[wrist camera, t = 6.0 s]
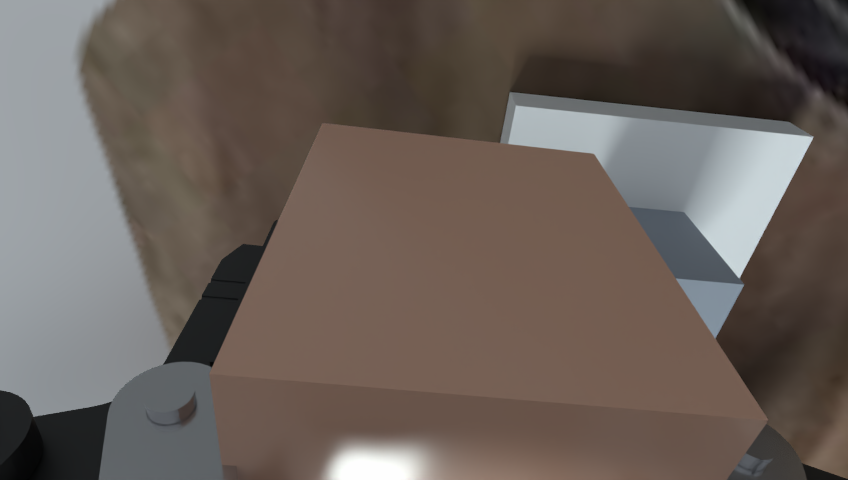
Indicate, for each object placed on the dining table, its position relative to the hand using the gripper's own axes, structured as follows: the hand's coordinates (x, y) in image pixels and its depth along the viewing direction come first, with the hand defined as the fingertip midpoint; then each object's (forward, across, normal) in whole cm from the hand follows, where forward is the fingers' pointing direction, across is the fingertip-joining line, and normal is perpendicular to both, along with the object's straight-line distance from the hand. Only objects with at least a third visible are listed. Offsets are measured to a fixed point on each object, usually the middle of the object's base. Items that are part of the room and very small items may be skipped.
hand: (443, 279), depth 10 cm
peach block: (+1, 0, 0) cm, 1 cm away
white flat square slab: (+17, -11, +8) cm, 22 cm away
